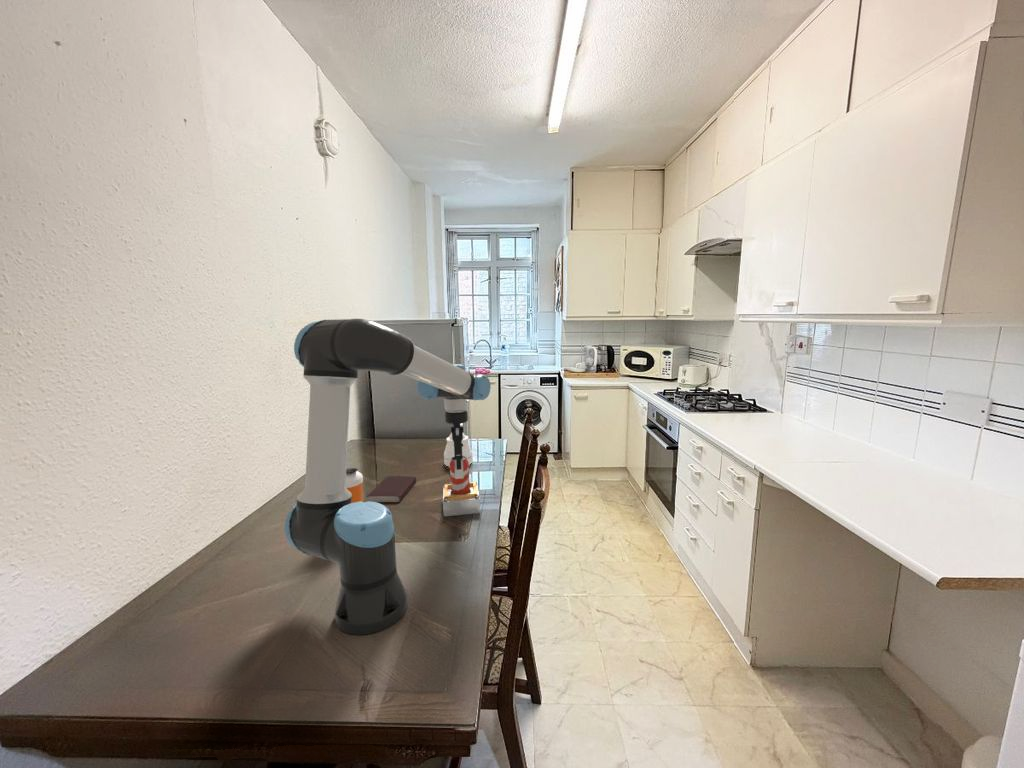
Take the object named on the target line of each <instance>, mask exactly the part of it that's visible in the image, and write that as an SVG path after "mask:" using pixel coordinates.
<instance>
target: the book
mask: <svg viewBox="0 0 1024 768" xmlns="http://www.w3.org/2000/svg"><path fill="white" fill-rule="evenodd" d="M416 483H417V477H416V476H410V475H409V476H407V475H406V476H403V475H388V476H387V475H386V476H385V477H384V478H383V480H382V481H380V482H379V483H378V484H377V485H376V486H375V487H374V488H372V490H371V491H370V492H369V493H368V494H367V495H366V498H367V501H370V502H376V503H400V502H401V501H402V500H403V498H404V497H405V496H406V495H407V494H408V493H409V491H411V489H412V488H413V487H414V486H415V484H416ZM411 487H412V488H411ZM410 488H411V489H410Z"/></svg>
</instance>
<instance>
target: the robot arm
mask: <svg viewBox="0 0 1024 768" xmlns="http://www.w3.org/2000/svg"><path fill="white" fill-rule="evenodd" d="M294 339H295V340H294V345H293V351H294V356H295V358H296V360H298V363H299V365H301V366H302V367H303V378H304V379H305V380H306V381H307V383H308V384H309V405H308V424H307V441H306V442H307V444H306V457H305V458H306V461H305V462H306V463H305V479H304V482H305V483H304V489H303V491H301V493H299V494H298V495H297V496H296V497H297V498H296V503H295V504H294V505H293V506H292V507H291V511H290V512H288V513H287V515H286V516H285V517H286V518H285V522H284V535H285V538H286V540H287V542H288V544H290V546H291V547H293V548H294V549H296V550H297V551H299V552H301V553H302V554H305V555H308V556H313V557H317V558H319V559H322V560H326V561H329V562H332V563H334V564H337V565H338V568H339V576H340V577H339V578H340V579H339V580H340V589H339V591H338V595H337V600H336V603H335V608H334V617H335V619H334V620H335V624H336V627H337V628H338V629H339V630H340V631H342V632H343V633H346V634H349V635H353V636H354V635H356V636H361V635H363V636H364V635H369V634H374V633H377V632H380V631H383V630H385V629H387V628H389V627H390V626H393V625H394V624H395V623H397V622H398V621H399V620H400V619H401V618H403V616H404V614H405V612H406V610H407V609H408V594H407V590H406V588H405V586H404V584H403V582H402V579H401V577H400V576H399V573H398V568H397V556H396V555H397V554H396V539H395V524H394V522H393V521H394V520H393V515H392V512H391V511H390V509H389V508H388V507H387V506H385V505H384V504H382V503H381V502H370V501H368V500H367V501H366V502H364V501H363V502H362V501H361V502H355V503H351V499H352V494H351V493H350V492H349V491H348V490H347V489H346V487H345V482H346V468H347V462H348V460H347V459H348V458H347V457H348V443H349V442H348V440H349V439H348V438H349V419H350V403H351V401H350V400H351V398H350V397H351V387H352V385H353V384H354V383H356V382H357V381H358V380H359V377H358V376H359V374H358V373H359V372H364V371H365V372H380V373H386V374H389V375H392V376H400V375H403V376H406V377H408V378H411V379H413V380H416V381H417V384H416V388H417V392H418V395H419V396H420V397H421V398H422V399H425V400H435V399H443V403H444V406H443V407H444V410H445V413H444V421H445V423H446V424H449V425H453V426H451V427H450V429H451V430H450V431H451V432H450V434H452V440H453V441H454V457H452V460H454V463H455V479H461V478H464V476H463V456H462V447H463V444H462V440H463V433H464V425H463V426H460V424H461V423H463V424H464V423H465V424H466V423H467V422H468V421H469V420H468V419H469V415H468V411H467V409H468V403H470V401H469V400H471V401H472V400H473V401H485V400H486V399H487V398H488V397H489V396H490V393H491V381H490V378H489V376H488V375H485V374H480V373H477V374H473V373H470V372H469V371H467V370H466V366H465V365H464V364H461V363H460V364H459V363H456V364H455V363H453V364H452V363H451V362H448V361H446V360H444V359H442V358H440V357H438V356H436V355H434V354H433V353H431V352H428V351H426V350H424V348H420V347H418V346H416V345H415V344H414V342H413V341H412V339H411V338H410V337H408V336H406V335H404V334H402V333H400V332H398V331H396V330H395V329H392V328H390V327H387V326H385V325H383V324H380V323H377V322H376V321H372V320H368V319H364V318H347V319H345V318H343V319H322V320H318V321H312V322H311V323H308V324H306V325H305V326H304V327H302V328H301V329H300V331H299V332H298V333H297V335H296V338H294Z"/></svg>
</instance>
